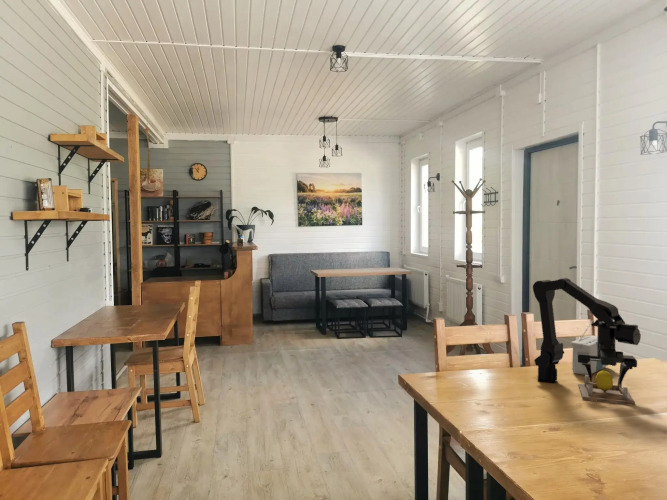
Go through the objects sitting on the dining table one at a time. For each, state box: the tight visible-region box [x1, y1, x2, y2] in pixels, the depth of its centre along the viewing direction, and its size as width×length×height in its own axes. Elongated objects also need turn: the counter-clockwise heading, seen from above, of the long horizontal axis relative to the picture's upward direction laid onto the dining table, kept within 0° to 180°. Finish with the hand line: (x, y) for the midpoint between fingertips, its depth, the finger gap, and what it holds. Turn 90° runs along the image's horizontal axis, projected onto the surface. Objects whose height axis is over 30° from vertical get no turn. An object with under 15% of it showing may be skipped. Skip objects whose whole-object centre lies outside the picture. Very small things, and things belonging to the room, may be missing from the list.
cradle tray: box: [577, 375, 636, 406], centre depth 183 cm, size 16×16×5 cm
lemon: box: [595, 369, 614, 392], centre depth 183 cm, size 6×6×8 cm
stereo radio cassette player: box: [570, 319, 609, 376], centre depth 214 cm, size 21×8×20 cm, turn 132°
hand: (605, 382), depth 183 cm, fingers open, 9 cm apart
